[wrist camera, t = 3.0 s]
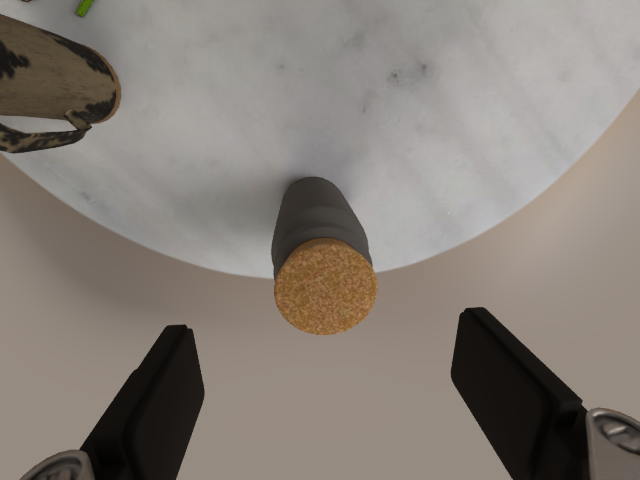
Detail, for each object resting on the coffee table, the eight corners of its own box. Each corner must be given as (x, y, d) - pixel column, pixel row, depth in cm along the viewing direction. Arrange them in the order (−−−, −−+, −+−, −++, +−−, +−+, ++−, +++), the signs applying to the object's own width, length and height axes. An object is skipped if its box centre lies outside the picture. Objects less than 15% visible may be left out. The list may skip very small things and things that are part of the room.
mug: (25, 79, 23) (-241, 34, 12) (68, 22, 22) (-178, -88, 11) (116, 160, 25) (-30, 187, 14) (159, 112, 24) (37, 100, 13)
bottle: (294, 246, 29) (288, 360, 15) (271, 188, 27) (239, 257, 13) (352, 227, 29) (403, 324, 15) (334, 167, 26) (372, 213, 12)
